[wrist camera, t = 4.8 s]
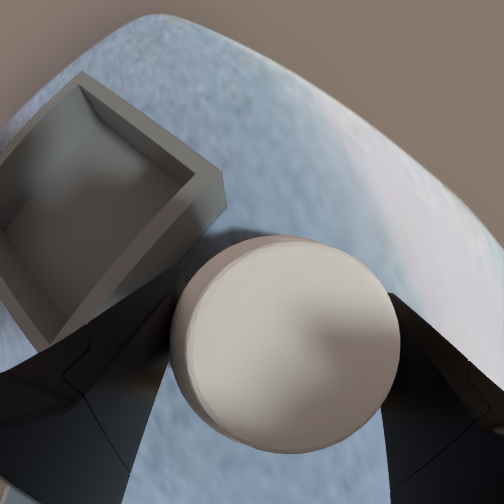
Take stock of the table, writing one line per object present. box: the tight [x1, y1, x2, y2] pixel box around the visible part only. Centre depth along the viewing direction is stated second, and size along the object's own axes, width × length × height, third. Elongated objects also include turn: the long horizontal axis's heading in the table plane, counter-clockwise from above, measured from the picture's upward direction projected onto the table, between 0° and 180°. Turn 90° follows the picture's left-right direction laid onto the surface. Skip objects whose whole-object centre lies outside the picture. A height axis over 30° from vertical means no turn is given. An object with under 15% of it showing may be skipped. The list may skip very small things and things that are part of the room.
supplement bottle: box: [169, 235, 400, 454], centre depth 10 cm, size 6×6×10 cm
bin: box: [0, 71, 227, 353], centre depth 15 cm, size 12×12×4 cm
